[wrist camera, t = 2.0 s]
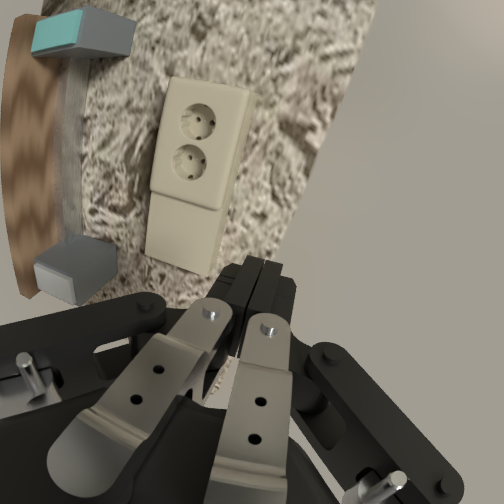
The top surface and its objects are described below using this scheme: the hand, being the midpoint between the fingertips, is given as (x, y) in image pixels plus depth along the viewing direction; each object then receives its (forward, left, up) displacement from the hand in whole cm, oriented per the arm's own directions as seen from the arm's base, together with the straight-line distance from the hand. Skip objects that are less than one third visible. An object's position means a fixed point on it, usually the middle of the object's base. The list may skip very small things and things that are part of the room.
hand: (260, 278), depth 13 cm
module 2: (+13, -23, -17) cm, 31 cm away
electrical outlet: (+1, -9, -17) cm, 20 cm away
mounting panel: (0, -27, -17) cm, 32 cm away
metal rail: (0, -25, -17) cm, 30 cm away
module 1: (-13, -23, -17) cm, 31 cm away
